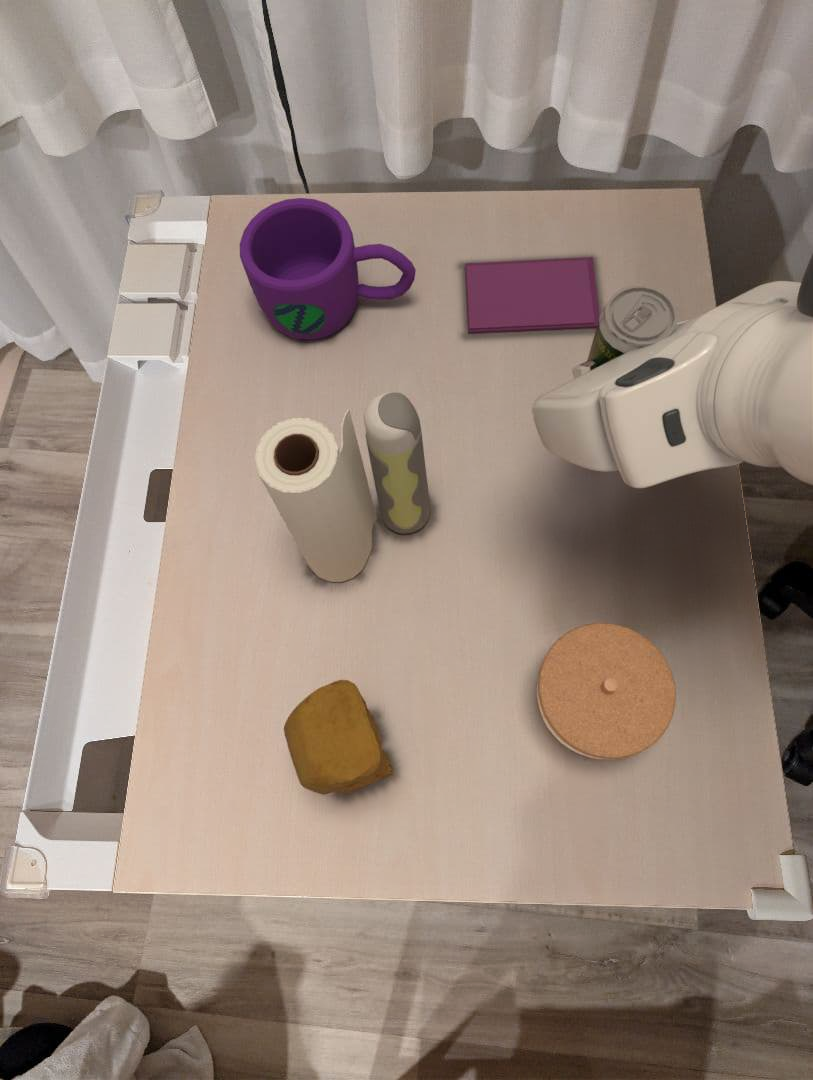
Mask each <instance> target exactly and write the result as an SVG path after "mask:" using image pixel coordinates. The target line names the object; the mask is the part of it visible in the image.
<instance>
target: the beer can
mask: <svg viewBox="0 0 813 1080" xmlns="http://www.w3.org/2000/svg"><path fill="white" fill-rule="evenodd" d="M677 322H679V313H678V307H677V306H676V304H675V301H674V300H673V299H672V298H671V297H670V296H669V295H668V294H667V293H666V292H664V291H662V290H661V289H658V288H657V287H654V286H651V285H646V284H631V285H627V286H625V287H622V288H620V289H619V290H617V291H615V292H614V293H613V294H612V295H611V296H610V298H609V299H608V301H607V302H606V304H604V306H603V307H602V308H601V310H600V318H599V321H598V325H597V328H595V332H594V336H593V339H592V342H591V346H590V350H589V353H588V357H587V360H586V361H588V360H592V361H596V362H598V363H599V365H600V366H601V365H603V364H605V363H607V362H609V361H611V360H613V359H615V358H617V357H618V356H620V355H622V354H624V353H626V352H629V351H632V350H634V349H637V348H640V347H645V346H649V345H652V344H654V343H657V342H659V341H661V340H663V339H665V338H667V337H668V336H670V335H671V334H672V333H673V331H674V330H675V328H677V327H678V325H677ZM660 337H661V338H660ZM658 338H659V339H658Z"/></svg>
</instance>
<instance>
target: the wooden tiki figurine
mask: <svg viewBox="0 0 813 1080" xmlns="http://www.w3.org/2000/svg"><path fill="white" fill-rule="evenodd" d="M379 730H380V729H379V728H378V725H377V722H376V721H375V717H374V715H373V714H372V713H371V711H370V710H369V708H368V706H367V703H366V701H365V699H364V697H363V696H362V694H361V691H360V689H359V688H358V686H357V685H356V684H355V683H354V682H352V681H350V680H349V679H339V680H334V681H332V682H331V683H328V684H326V685H323V686H321V687H319V688H317V689H315V690H314V691H312V692H311V693H310V694H308V695H307V697H305V698H304V699H303V700H302V701H300V703H298V704H297V706H296V707H295V708H294V709H293V710H292V711H291V712H290V714H289V715H288V717H287V719H286V721H285V723H284V725H283V733H284V737H285V741H286V744H287V748H288V753H289V755H290V758H291V761H292V765H293V768H294V770H295V773H296V775H297V779H298V781H299V784H300V786H301V787H302V788H304V789H306V790H308V791H311V792H314V793H316V794H320V795H324V796H325V795H330V794H334V793H338V792H339V793H340V795H346V794H348V793H351V792H354V791H356V790H358V789H361V788H363V787H366V786H368V785H370V784H373V783H376V782H377V781H380V780H382V779H384V778H387V777H389V776H391V775H393V774H394V773H393V769H392V768H393V767H392V765H391V763H390V762H391V761H390V760H389V759H388V755H387V753H385V750H384V748H383V741H382V737H381V736H382V735H381V734H380V731H379Z"/></svg>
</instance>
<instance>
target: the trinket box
mask: <svg viewBox="0 0 813 1080" xmlns="http://www.w3.org/2000/svg"><path fill="white" fill-rule="evenodd" d="M674 679H675V678H674V675H673V673H672V671H671V668H670V665H669V664H668V661H667V660H666V658H665V657H664V655H663V653H662V652H661V651H660V650H659V648H658V647H657V646H656V645H654V643H653V642H651V641H650V640H649V639H648V638H647V637H645V636H644V635H642V634H640V633H639V632H637V631H636V630H633V629H631V628H629V627H627V626H624V625H621V624H618V623H617V624H616V623H610V622H593V623H588V624H583V625H581V626H578V627H575V628H573V629H570V630H569V631H567V632H566V633H565V634H563V635H562V636H560V637H559V638H557V640H556V641H555V642H554V643H553V644H552V645H551V647H550V648H549V650H548V651H547V652H546V654H545V656H544V658H543V660H542V663H541V665H540V669H539V672H538V677H537V686H536V687H537V688H536V697H537V699H536V700H537V703H538V709H539V713H540V715H541V717H542V720H543V722H544V723H545V725H546V728H547V730H549V732H550V733H551V734H552V736H553V737H554V738H555V739H556V740H558V741H559V743H561V745H563V746H564V747H566V748H568V750H570V751H573V752H574V753H576V754H579V755H581V756H584V757H587V758H591V759H598V760H619V759H624V758H629V757H632V756H635V755H638V754H640V753H642V752H644V751H645V750H648V749H649V748H650V747H652V746H653V745H654V744H655V743H657V742H658V741H659V740H660V739H661V737H662V736H663V735H664V734H665V732H666V731H667V729H668V728H669V726H670V724H671V721H672V719H673V717H674V712H675V708H676V702H677V701H676V698H677V695H676V694H677V693H676V683H675V680H674Z"/></svg>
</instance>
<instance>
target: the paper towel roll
mask: <svg viewBox="0 0 813 1080" xmlns="http://www.w3.org/2000/svg"><path fill="white" fill-rule="evenodd" d="M340 432H341V433H340V435H341V437H340V438H341V447H340V448H339V445H338V443H337V440H336V437H335V435H334V433H333V432H332V431H330V429H329V428H328V427H327V426H325V424H324V423H322V422H319V421H316V420H314V419H312V418H309V417H290V418H287V419H285V420H283V421H282V420H281V421H279V422H276V423H275V424H274V425H273V426H272V427H270V428H269V429H268V430H267V431H266V432H264V433H263V435H262V437H261V439H260V440H259V441H258V443H257V445H256V450H255V457H254V464H255V467H256V471H257V474H258V476H259V478H260V481H261V482H262V484H263V485H264V487H265V489H266V491H267V493H268V494H269V496H270V498H271V500H272V502H273V504H274V505H275V507H276V508H277V511H278V513H279V514H280V516H281V518H282V520H283V522H284V523H285V525H286V527H287V528H288V530H289V533H290V534H291V537H292V538H293V539H294V542H295V543H296V545H297V547H298V549H299V551H300V552H301V554H302V556H303V558H304V560H305V561H306V563H307V566H309V568H310V569H311V571H312V572H313V573H314V574H315V575H316V576H317V577H318V578H320V579H322V580H324V581H327V582H329V583H343V582H346V581H349V580H352V579H354V578H355V577H356V576H357V575H359V574H360V573H361V572H362V571H363V570H364V568H365V566H366V563H367V562H368V560H369V556H370V554H371V552H372V549H373V530H374V529H373V528H374V524H375V522H376V521H377V514H376V509H375V505H374V500H373V497H372V493H371V490H370V486H369V483H368V482H369V481H368V477H367V473H366V470H365V466H364V461H363V458H362V453H361V450H360V446H359V442H358V439H357V437H358V436H357V434H356V430H355V425H354V422H353V418H352V413H351V410H350V408H347V410H346V411H345V414H344V415H343V418H342V423H341V427H340Z"/></svg>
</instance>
